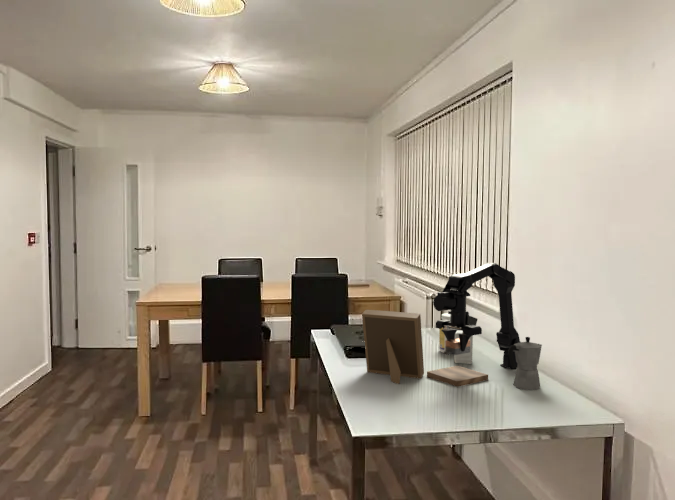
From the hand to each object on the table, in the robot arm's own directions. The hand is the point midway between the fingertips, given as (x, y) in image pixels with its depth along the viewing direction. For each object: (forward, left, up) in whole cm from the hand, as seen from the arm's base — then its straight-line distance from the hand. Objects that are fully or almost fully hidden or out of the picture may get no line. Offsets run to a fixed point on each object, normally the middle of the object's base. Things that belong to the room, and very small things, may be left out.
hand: (457, 349), depth 219 cm
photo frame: (+20, -15, -11) cm, 27 cm away
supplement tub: (-30, -32, -11) cm, 45 cm away
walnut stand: (0, 0, -11) cm, 11 cm away
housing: (0, 0, -1) cm, 1 cm away
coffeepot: (-12, +21, -11) cm, 27 cm away
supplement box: (-21, -17, -11) cm, 29 cm away
